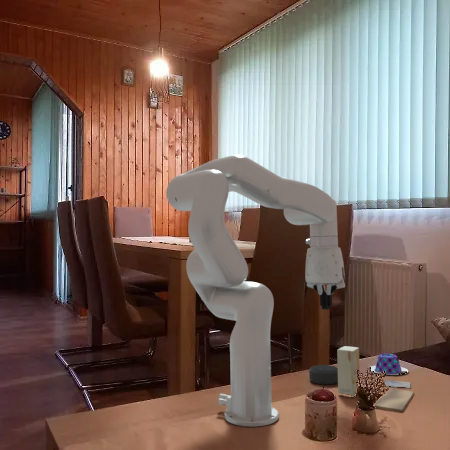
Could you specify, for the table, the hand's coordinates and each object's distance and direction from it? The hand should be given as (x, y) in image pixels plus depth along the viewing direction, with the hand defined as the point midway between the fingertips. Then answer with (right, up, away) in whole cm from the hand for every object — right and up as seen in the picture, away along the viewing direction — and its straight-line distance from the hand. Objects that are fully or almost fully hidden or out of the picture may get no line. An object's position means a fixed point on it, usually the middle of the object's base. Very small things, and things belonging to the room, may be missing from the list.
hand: (326, 308), depth 132 cm
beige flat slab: (+13, -22, -9) cm, 27 cm away
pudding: (+24, -24, +18) cm, 38 cm away
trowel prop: (+17, -22, +5) cm, 28 cm away
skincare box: (+5, -22, -4) cm, 23 cm away
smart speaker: (+1, -23, +8) cm, 25 cm away
